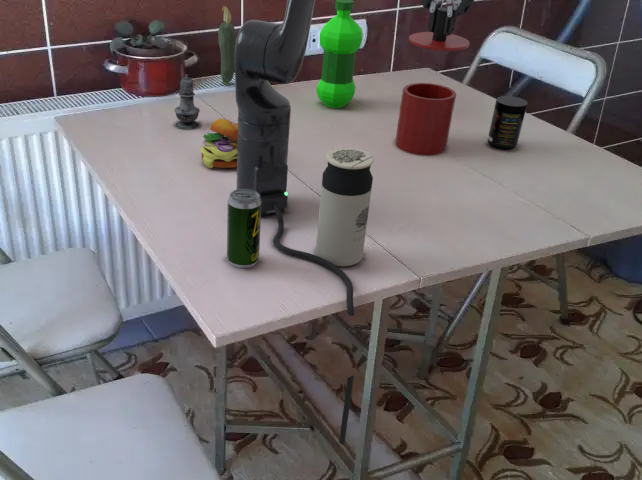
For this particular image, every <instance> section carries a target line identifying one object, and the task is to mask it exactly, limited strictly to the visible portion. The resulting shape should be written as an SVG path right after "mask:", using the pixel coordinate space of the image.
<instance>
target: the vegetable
mask: <svg viewBox="0 0 642 480" xmlns="http://www.w3.org/2000/svg"><path fill="white" fill-rule="evenodd" d="M221 12H222V13H223V22H222V23H221V24H220V25H219V27H218V30H217V32H218V33H217V34H218V35H217V38H218V39H217V40H218V45H219V46H218V47H219V50H220V51H219V52H220V78H221V79H222V84H224V85H228V84H229V83H231V82H232V81H233V79H234V76H235V45H236V29H235V27H234V24H233V23H232V22H231V21H232V13H231V12H230V10H229V9H228V7H227V6H225V5H223V6H222V8H221Z"/></svg>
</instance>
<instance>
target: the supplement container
mask: <svg viewBox="0 0 642 480" xmlns="http://www.w3.org/2000/svg"><path fill="white" fill-rule="evenodd" d="M527 107H528V101H527V100H526V99H524V98H521V97H517V96H511V95H501V96H498V97H496V98H495V104H494V108H493V112H492V117H491V121H490V126H489V131H488V136H487V140H486V141H487V142H486V143H487V145H488V147H490V148H493V149H495V150H498V151H512V150H515V149H516V148H517V146H518V143H519V138H520V136H521V132H522V131H521V130H522V127H523V123H524V119H525V115H526V111H527Z"/></svg>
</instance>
